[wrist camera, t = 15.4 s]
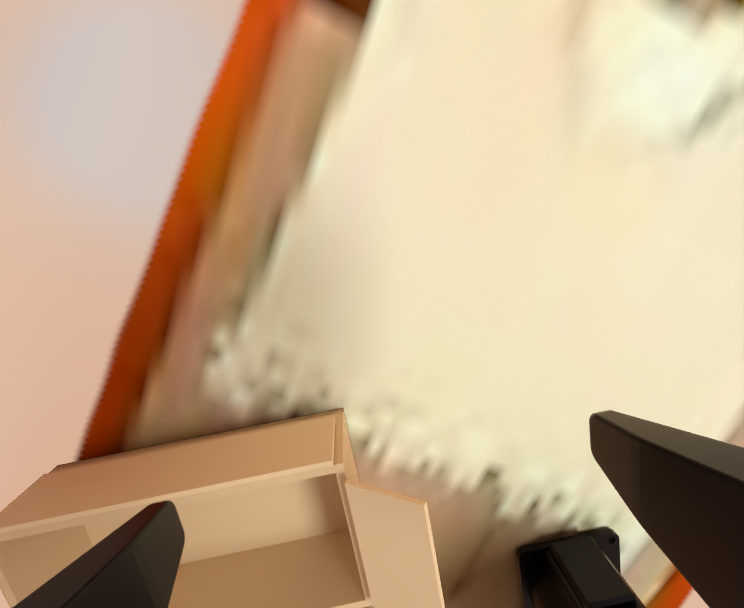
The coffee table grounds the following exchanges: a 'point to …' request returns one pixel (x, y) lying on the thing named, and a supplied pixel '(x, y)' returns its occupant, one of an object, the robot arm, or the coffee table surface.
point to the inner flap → (395, 547)
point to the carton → (209, 516)
